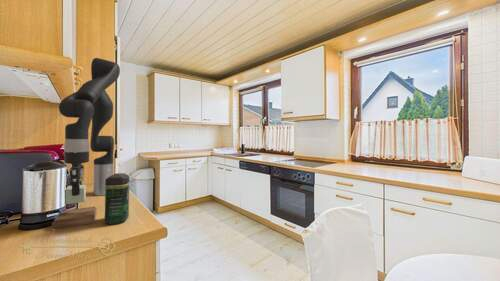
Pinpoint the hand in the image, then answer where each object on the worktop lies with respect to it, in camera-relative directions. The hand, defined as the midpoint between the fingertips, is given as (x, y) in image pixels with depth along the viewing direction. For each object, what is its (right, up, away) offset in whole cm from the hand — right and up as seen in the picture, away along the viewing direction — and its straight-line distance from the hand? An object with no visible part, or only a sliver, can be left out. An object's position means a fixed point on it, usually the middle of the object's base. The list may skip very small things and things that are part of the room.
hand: (76, 193), depth 82 cm
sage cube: (0, -3, 0) cm, 3 cm away
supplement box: (-16, -11, +12) cm, 22 cm away
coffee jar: (+15, -11, +2) cm, 19 cm away
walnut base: (0, -11, 0) cm, 11 cm away
